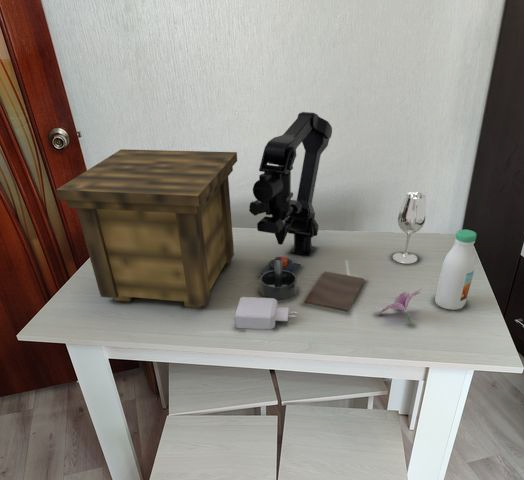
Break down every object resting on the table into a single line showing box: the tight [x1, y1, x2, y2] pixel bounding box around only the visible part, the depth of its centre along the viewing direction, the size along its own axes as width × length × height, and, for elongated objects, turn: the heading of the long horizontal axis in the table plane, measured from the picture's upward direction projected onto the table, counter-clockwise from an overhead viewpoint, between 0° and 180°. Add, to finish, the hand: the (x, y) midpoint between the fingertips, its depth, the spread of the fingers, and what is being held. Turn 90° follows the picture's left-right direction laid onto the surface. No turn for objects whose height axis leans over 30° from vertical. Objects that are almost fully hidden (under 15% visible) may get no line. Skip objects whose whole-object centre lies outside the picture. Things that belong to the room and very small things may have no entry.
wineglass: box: [392, 191, 427, 265], centre depth 141 cm, size 8×8×20 cm
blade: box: [269, 256, 287, 287], centre depth 130 cm, size 7×7×10 cm
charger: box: [234, 296, 298, 330], centre depth 120 cm, size 5×9×15 cm
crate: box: [55, 148, 238, 309], centre depth 130 cm, size 35×35×33 cm
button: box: [277, 255, 289, 267], centre depth 141 cm, size 4×4×2 cm
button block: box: [260, 258, 301, 276], centre depth 142 cm, size 10×9×3 cm
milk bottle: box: [434, 229, 477, 311], centre depth 120 cm, size 8×8×20 cm
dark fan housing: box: [259, 270, 298, 301], centre depth 132 cm, size 10×10×4 cm
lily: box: [377, 288, 422, 326], centre depth 119 cm, size 12×12×10 cm
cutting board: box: [303, 271, 366, 313], centre depth 132 cm, size 18×12×1 cm, turn 156°
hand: (280, 244), depth 137 cm, fingers closed
